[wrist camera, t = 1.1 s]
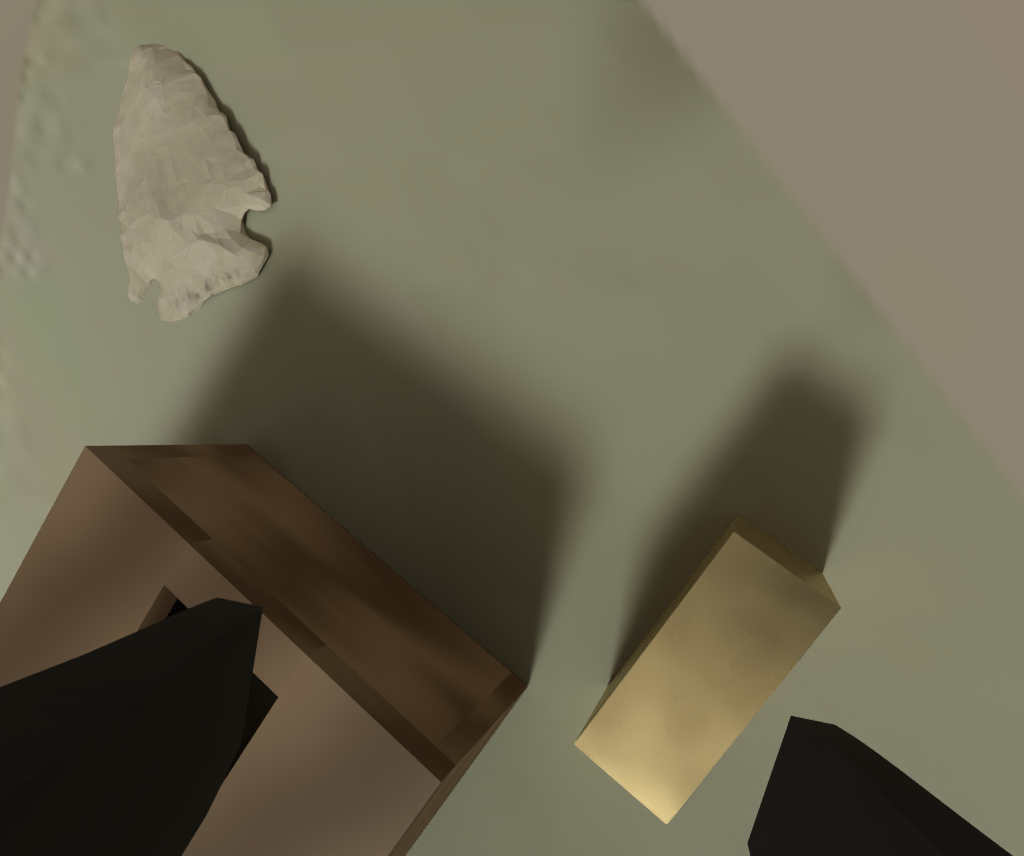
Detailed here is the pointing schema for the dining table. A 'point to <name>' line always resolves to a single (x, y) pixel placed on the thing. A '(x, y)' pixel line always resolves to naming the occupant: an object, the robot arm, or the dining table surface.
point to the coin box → (268, 643)
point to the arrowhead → (182, 187)
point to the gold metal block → (707, 667)
